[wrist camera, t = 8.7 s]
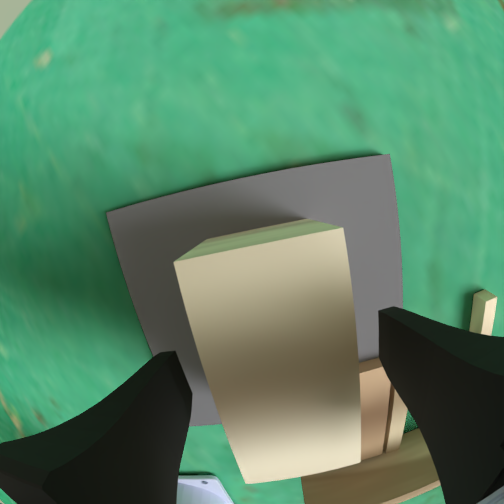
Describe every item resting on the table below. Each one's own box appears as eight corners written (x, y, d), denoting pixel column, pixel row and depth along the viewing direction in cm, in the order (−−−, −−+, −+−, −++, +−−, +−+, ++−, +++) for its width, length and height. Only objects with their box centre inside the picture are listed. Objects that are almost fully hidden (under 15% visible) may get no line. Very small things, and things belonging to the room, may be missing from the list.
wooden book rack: (457, 418, 16) (485, 460, 11) (300, 471, 17) (308, 527, 12) (484, 289, 13) (541, 325, 8) (274, 350, 14) (285, 425, 9)
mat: (187, 419, 15) (186, 426, 14) (111, 210, 12) (105, 212, 11) (394, 379, 15) (398, 385, 14) (383, 154, 12) (389, 154, 11)
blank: (332, 389, 13) (360, 462, 8) (248, 405, 13) (245, 483, 8) (307, 218, 12) (343, 227, 7) (206, 239, 12) (173, 261, 7)
